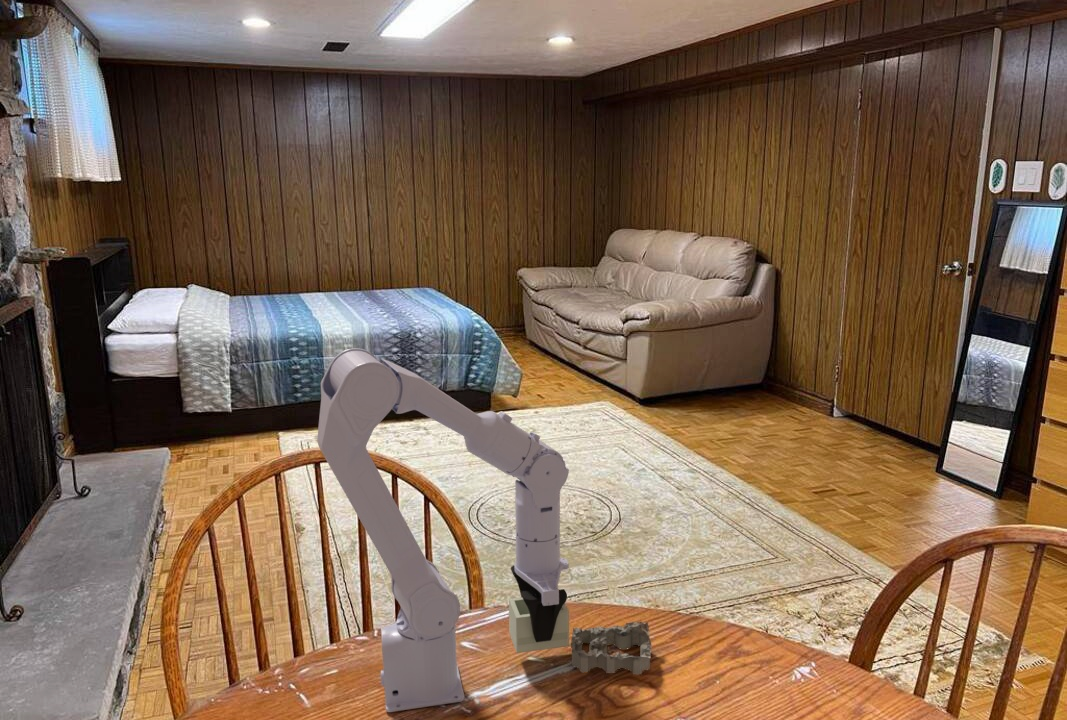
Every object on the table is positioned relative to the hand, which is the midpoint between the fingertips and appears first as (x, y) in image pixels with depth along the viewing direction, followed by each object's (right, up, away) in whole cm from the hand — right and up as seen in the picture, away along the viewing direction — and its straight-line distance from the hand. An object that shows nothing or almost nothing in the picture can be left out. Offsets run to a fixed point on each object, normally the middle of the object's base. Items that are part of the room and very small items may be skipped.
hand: (538, 628), depth 105 cm
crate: (0, -2, 0) cm, 2 cm away
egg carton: (+10, -5, +1) cm, 11 cm away
